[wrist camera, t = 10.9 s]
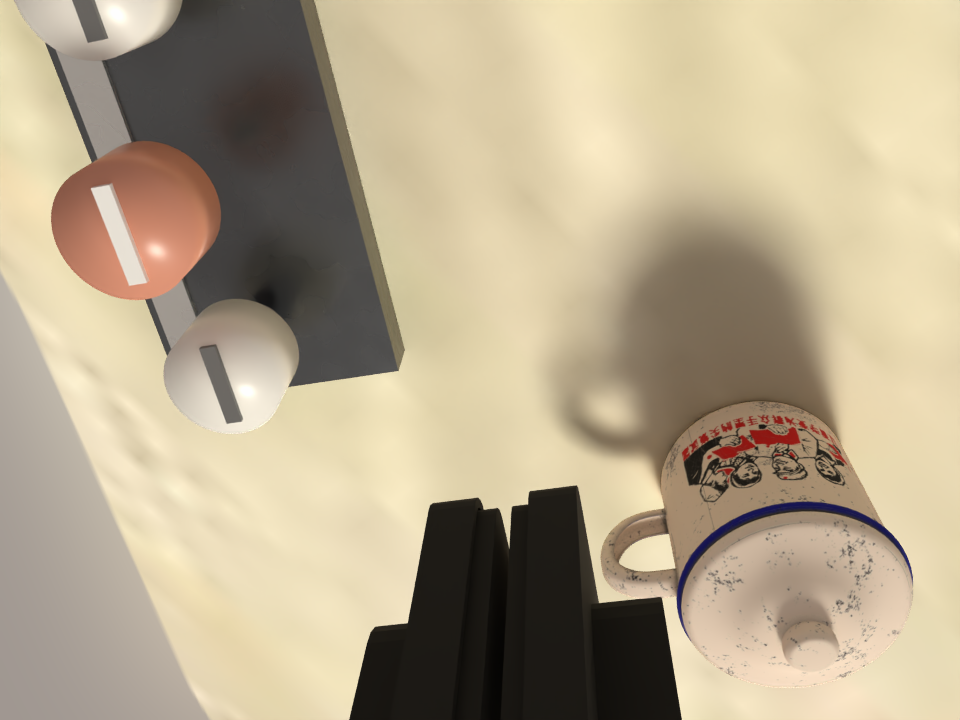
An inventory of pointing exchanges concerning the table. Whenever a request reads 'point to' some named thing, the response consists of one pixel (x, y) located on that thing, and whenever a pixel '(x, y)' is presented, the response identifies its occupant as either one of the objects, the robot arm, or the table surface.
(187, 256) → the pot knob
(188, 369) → the knob far
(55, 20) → the knob near
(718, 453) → the teacup with lid
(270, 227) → the mount plate
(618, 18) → the table surface
